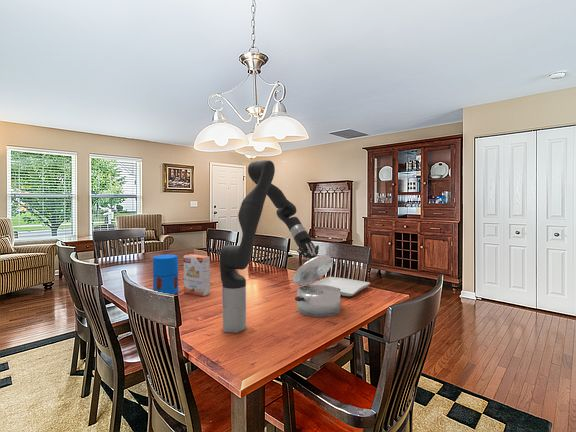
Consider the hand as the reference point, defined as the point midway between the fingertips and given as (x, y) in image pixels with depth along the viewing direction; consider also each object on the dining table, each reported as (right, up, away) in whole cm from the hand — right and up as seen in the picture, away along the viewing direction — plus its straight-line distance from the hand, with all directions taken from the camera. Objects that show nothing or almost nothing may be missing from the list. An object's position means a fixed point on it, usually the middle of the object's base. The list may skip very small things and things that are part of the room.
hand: (316, 263), depth 148 cm
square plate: (+16, -20, +33) cm, 42 cm away
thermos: (-70, -22, -1) cm, 73 cm away
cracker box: (-63, -20, +24) cm, 71 cm away
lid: (-1, -4, +2) cm, 5 cm away
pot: (+1, -22, 0) cm, 22 cm away
